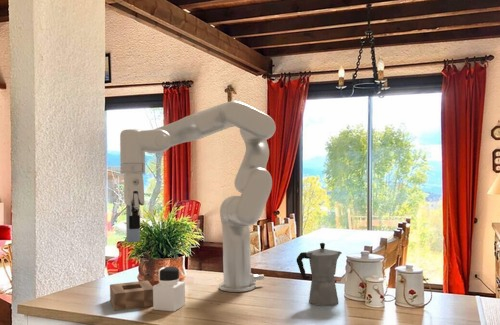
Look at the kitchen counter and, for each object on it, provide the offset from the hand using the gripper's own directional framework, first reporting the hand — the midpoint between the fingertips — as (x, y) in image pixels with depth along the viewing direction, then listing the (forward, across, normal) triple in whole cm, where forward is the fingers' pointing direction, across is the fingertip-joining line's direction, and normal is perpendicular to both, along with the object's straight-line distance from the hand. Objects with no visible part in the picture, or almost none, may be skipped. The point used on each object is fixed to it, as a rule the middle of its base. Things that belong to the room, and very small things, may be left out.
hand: (133, 227), depth 149 cm
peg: (+4, 0, 0) cm, 4 cm away
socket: (+24, +1, 0) cm, 24 cm away
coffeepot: (+23, -25, -52) cm, 62 cm away
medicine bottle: (+24, -9, -9) cm, 27 cm away
